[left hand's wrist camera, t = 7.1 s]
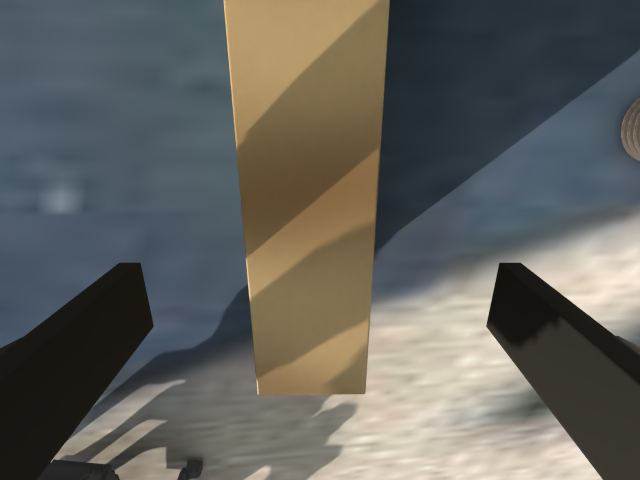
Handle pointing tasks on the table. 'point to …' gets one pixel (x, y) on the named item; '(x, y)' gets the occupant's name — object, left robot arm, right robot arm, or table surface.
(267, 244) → the wooden beam
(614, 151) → the table surface
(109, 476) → the toy
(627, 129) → the light bulb
